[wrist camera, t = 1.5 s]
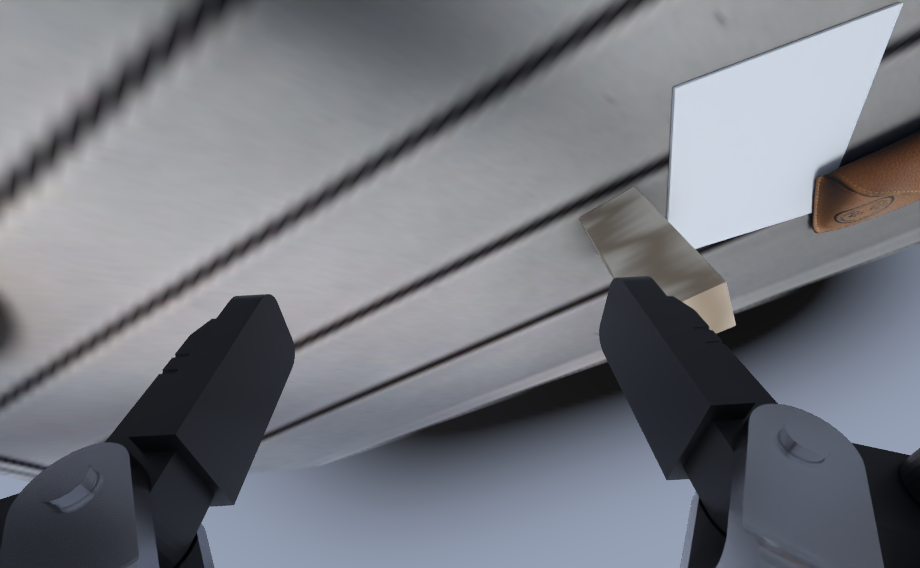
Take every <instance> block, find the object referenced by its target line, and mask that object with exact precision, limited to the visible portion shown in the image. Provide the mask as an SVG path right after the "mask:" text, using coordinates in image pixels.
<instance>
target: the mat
mask: <svg viewBox="0 0 920 568" xmlns="http://www.w3.org/2000/svg"><path fill="white" fill-rule="evenodd" d="M902 5H903V3H901V2H898V3H895V4H893V5H890V6H887V7H885V8H882V9H879V10H877V11H874V12H871V13H869V14H866V15H864V16H861V17H858V18H856V19H853V20H850V21H848V22H845V23H842V24H840V25H837V26H834V27H832V28H829V29H826V30H824V31H821V32H818V33H816V34H813V35H810V36H808V37H805V38H802V39H800V40H797V41H794V42H792V43H789V44H786V45H784V46H781V47H778V48H776V49H773V50H770V51H768V52H765V53H762V54H760V55H757V56H755V57H752V58H749V59H747V60H744V61H741V62H739V63H736V64H733V65H731V66H728V67H725V68H723V69H720V70H717V71H715V72H712V73H709V74H707V75H704V76H701V77H699V78H696V79H693V80H691V81H688V82H685V83H683V84H680V85H677V86H675V87H673V95H672V115H671V135H670V156H669V176H668V196H667V216H666V219H667V221H668V222H669V223H670V224H671V225H672V226H673V227H674V228H675V229H676V230H677V231H678V232H679V233H680V234H681V235H682V236H683V237H684V238H685V239H686V240H687V241H688V242H689V243H690V245H691V246H692V247H693V248H694V249H696V248H699V247H703V246H706V245H709V244H712V243H716V242H719V241H722V240H725V239H729V238H732V237H735V236H738V235H742V234H745V233H748V232H751V231H754V230H758V229H761V228H764V227H767V226H771V225H774V224H777V223H780V222H784V221H787V220H790V219H793V218H796V217H800V216H803V215H806V214H809V213H812V197H813V191H814V186H815V180H816V178H817V177H819V176H823V175H825V174H826V175H827V174H829V173H831V172H832V171H834V170H836V169H837V168H839V167H840V164H841V162H842V159H843V156H844V154H845V151H846V149H847V146H848V144H849V141H850V138H851V136H852V133H853V131H854V128H855V126H856V123H857V120H858V118H859V115H860V113H861V110H862V108H863V105H864V102H865V100H866V97H867V95H868V92H869V90H870V87H871V84H872V82H873V79H874V77H875V74H876V72H877V69H878V66H879V64H880V61H881V59H882V56H883V54H884V51H885V48H886V46H887V43H888V41H889V38H890V36H891V33H892V30H893V28H894V25H895V23H896V20H897V18H898V15H899V12H900V10H901V7H902Z"/></svg>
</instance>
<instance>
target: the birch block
mask: <svg viewBox="0 0 920 568" xmlns="http://www.w3.org/2000/svg"><path fill="white" fill-rule="evenodd" d="M579 219H580V221H581V223H582V225H583V227H584V229H585V231H586V232H587V234H588V236H589V238H590V240H591V242H592V244H593V245H594V247H595V249H596V251H597V253H598V255H599V256H600V258H601V260H602V261H603V263H604V264H605V266H606V268H607V269H608V271H609V272H610V274H611V276H612V277H613V279H614V278H618V277H638V276H649V277H651V278H652V279H653V280H654V281H655V282H656V283H657V284H658V286H659V287H660V288H661V289H662V290H663V292H664V293H665V294H666V295H667V296H674V297H675V298H677V299H679V300H680V301H682V302H683V303H685V304H686V305H688V306H689V307H691V308H693V309H694V310H695V311H696V312H697V313H698V314H699V315H700V316H701V318H702V319H703V320H704V321H705V322H706V323H707V324H708V326H709V329H710V330H713V331H714V332H715V333H718V332H721V331H723V330H726V329H728V328H730V327H733V326H735V325H736V324H735V319H734V315H733V310H732V306H731V301H730V297H729V292H728V288H727V283H726V281H725V280H724V279H723V278H722V277H721V276H720V275H719V274H718V273H717V272H716V271H715V270H714V269H713V267H712V266H711V265H710V264H709V263H708V262H707V261H706V260H705V259H704V258H703V257H702V256H701V255H700V254H699V253H698V252H697V251H696V250H695V249H694V248H693V247H692V246H691V245H690V243H689V242H688V241H687V240H686V239H685V238H684V237H683V236H682V235H681V234H680V233H679V232H678V231H677V230H676V229H675V228H674V227H673V226H672V225H671V224H670V223H669V222H668V221H667V219H666V218H665V217H664V216H663V215H662V214H661V213H660V212H659V211H658V210H657V209H656V208H655V207H654V206H653V205H652V204H651V203H650V202H649V201H648V200H647V199H646V198H645V197H644V195H643V194H642V193H641V192H640V191H639V190H638V189H637V188H636V187H635V186H634V187H632V188H630V189H629V190H627V191H625V192H623V193H622V194H620V195H618V196H616V197H615V198H613V199H611V200H609V201H608V202H606V203H604V204H602V205H601V206H599V207H597V208H595V209H594V210H592V211H590V212H588V213H587V214H585V215H583V216H581V217H580V218H579Z"/></svg>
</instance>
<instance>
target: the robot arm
mask: <svg viewBox="0 0 920 568" xmlns="http://www.w3.org/2000/svg"><path fill="white" fill-rule="evenodd" d="M599 337H600V344H601V347H602V350H603V353H604V355H605V357H606V359H607V361H608V363H609V364H610V367H611V369H612V371H613V372H614V375H615V377H616V379H617V381H618V383H619V385H620V387H621V389H622V391H623V393H624V395H625V397H626V399H627V401H628V403H629V405H630V407H631V409H632V411H633V413H634V415H635V417H636V419H637V421H638V423H639V425H640V427H641V429H642V431H643V433H644V435H645V437H646V439H647V441H648V443H649V445H650V447H651V449H652V451H653V453H654V455H655V457H656V459H657V461H658V463H659V465H660V467H661V469H662V471H663V473H664V476H665V478H666V480H678V479H690V481H691V482H692V484H693V486H694V488H695V490H696V493H695V494H694V496H693V498H692V502H691V507H690V513H689V519H688V524H687V531H686V536H685V542H684V547H683V553H682V559H681V565H680V568H920V448H919V449H918V450H917V451H916V452H914V453H913V454H912V455H906V454H901V453H897V452H891V451H887V450H883V449H877V448H872V447H869V446H864V445H859V444H854V443H851V442H850V441H849V440H848V439H847V438H846V437H845V436H844V435H843V434H842V433H840V432H839V431H838V430H837V429H836V428H834V427H833V426H831V425H830V424H829V423H827V422H825V421H824V420H822V419H821V418H819V417H817V416H815V415H813V414H811V413H809V412H806V411H804V410H802V409H798V408H795V407H792V406H787V405H782V404H778V403H776V401H775V400H774V399H773V398H772V397H771V396H770V394H769V393H768V392H767V391H766V390H765V389H764V388H763V387H762V385H761V384H760V383H759V382H758V381H757V380H756V379H755V378H754V376H753V375H752V374H751V373H750V372H749V371H748V370H747V368H746V367H745V366H744V365H743V364H742V363H741V362H740V361H739V360H738V358H737V357H736V356H735V355H734V354H733V353H732V352H731V350H729V348H728V347H727V346H726V345H723V344H722V340H721V339H720V338H719V337H718V336H717V335H716V333H715V332H714V331H713V330H710V329H709V326H708V324H707V323H706V322H705V321H704V320H703V319H702V318H701V316H700V315H699V314H698V313H697V312H696V311H695V310H694V309H693V308H691V307H689V306H688V305H686V304H685V303H683V302H682V301H680V300H679V299H677V298H675V297H674V296H667V295H666V294H665V293H664V292H663V290H662V289H661V288H660V287H659V286H658V284H657V283H656V282H655V281H654V280H653V279H652V278H651V277H649V276H638V277H618V278H614V279H613V281H612V282H611V285H610V288H609V292H608V296H607V300H606V304H605V308H604V312H603V315H602V319H601V323H600V329H599ZM175 355H176V357H175V358H172V359H171V360H170V361H169V363H168V364H167V365H166V366H165V368H164V369H163V373H162V374H159V375H158V376H157V378H156V379H155V380H154V381H153V383H152V384H151V385H150V386H149V388H148V389H147V390H146V391H145V393H144V394H143V395H142V397H141V398H140V399H139V400H138V402H137V403H136V404H135V405H134V407H133V408H132V409H131V410H130V412H129V413H128V414H127V415H126V417H125V418H124V419H123V420H122V422H121V423H120V424H119V425H118V427H117V428H116V429H115V431H114V432H113V433H112V434H111V436H110V437H109V438H108V439H107V440H106V441H105V443H99V444H94V445H90V446H87V447H84V448H82V449H79V450H77V451H75V452H72V453H71V454H69V455H67V456H65V457H63V458H61V459H60V460H58V461H56V462H55V463H53V464H52V465H50V466H49V467H48V468H46V469H45V470H43V471H42V472H41V473H40V474H39V475H37V476H36V477H35V478H34V479H33V480H32V481H31V482H30V483H29V484H28V485H27V486H26V487H25V488H24V489H23V490H22V491H21V492H20V493H19V494H16V495H13V496H10V497H7V498H3V499H0V568H214V564H213V560H212V556H211V552H210V547H209V543H208V539H207V535H206V531H205V528H204V527H203V525H202V524H201V522H202V520H203V518H204V516H205V514H206V512H207V509H208V508H209V506H226V505H234V504H235V501H236V499H237V497H238V494H239V492H240V489H241V487H242V485H243V483H244V480H245V478H246V475H247V473H248V471H249V468H250V466H251V464H252V461H253V459H254V457H255V454H256V452H257V450H258V447H259V445H260V442H261V440H262V438H263V435H264V433H265V431H266V428H267V426H268V424H269V421H270V419H271V417H272V414H273V412H274V410H275V407H276V405H277V402H278V400H279V398H280V395H281V393H282V391H283V388H284V386H285V384H286V381H287V379H288V377H289V374H290V372H291V370H292V367H293V364H294V358H295V348H294V343H293V340H292V337H291V335H290V332H289V330H288V327H287V325H286V323H285V320H284V318H283V315H282V313H281V310H280V308H279V305H278V303H277V301H276V299H275V298H274V297H273V296H272V295H270V294H266V295H246V296H235V297H233V298H232V299H231V300H230V301H229V303H228V304H227V305H226V307H225V308H224V309H223V311H222V312H221V313H220V315H219V316H218V317H217V319H211V320H210V321H209V322H207V323H206V324H205V325H203V326H202V327H201V328H199V329H198V330H197V331H195V332H194V333H193V334H191V335H190V336H189V337H188V339H187V340H186V341H185V342H184V344H183V345H182V346H181V347H180V349H179V350H178V351H177V352H176V354H175Z"/></svg>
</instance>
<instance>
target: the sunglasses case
mask: <svg viewBox="0 0 920 568" xmlns="http://www.w3.org/2000/svg"><path fill="white" fill-rule="evenodd" d="M919 200H920V131H918V132H916V133H913V134H911V135H909V136H907V137H905V138H903V139H901V140H899V141H896V142H894V143H892V144H890V145H888V146H886V147H884V148H882V149H880V150H877V151H875V152H873V153H871V154H868V155H866V156H864V157H862V158H860V159H858V160H856V161H853V162H851V163H849V164H847V165H844V166H842V167H840V168H837V169H836V170H834V171H832V172H831V173H829V174H827V175H826V174H825V175H823V176H819V177H817V178H816V180H815V186H814V191H813V197H812V228H813V230H814V232H816V233H822V232H828V231H833V230H837V229H841V228H843V227H848V226H851V225H854V224H857V223H860V222H862V221H865V220H868V219H871V218H874V217H877V216H879V215H882V214H885V213H888V212H890V211H893V210H896V209H898V208H901V207H903V206H906V205H908V204H911V203H913V202H916V201H919Z"/></svg>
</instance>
